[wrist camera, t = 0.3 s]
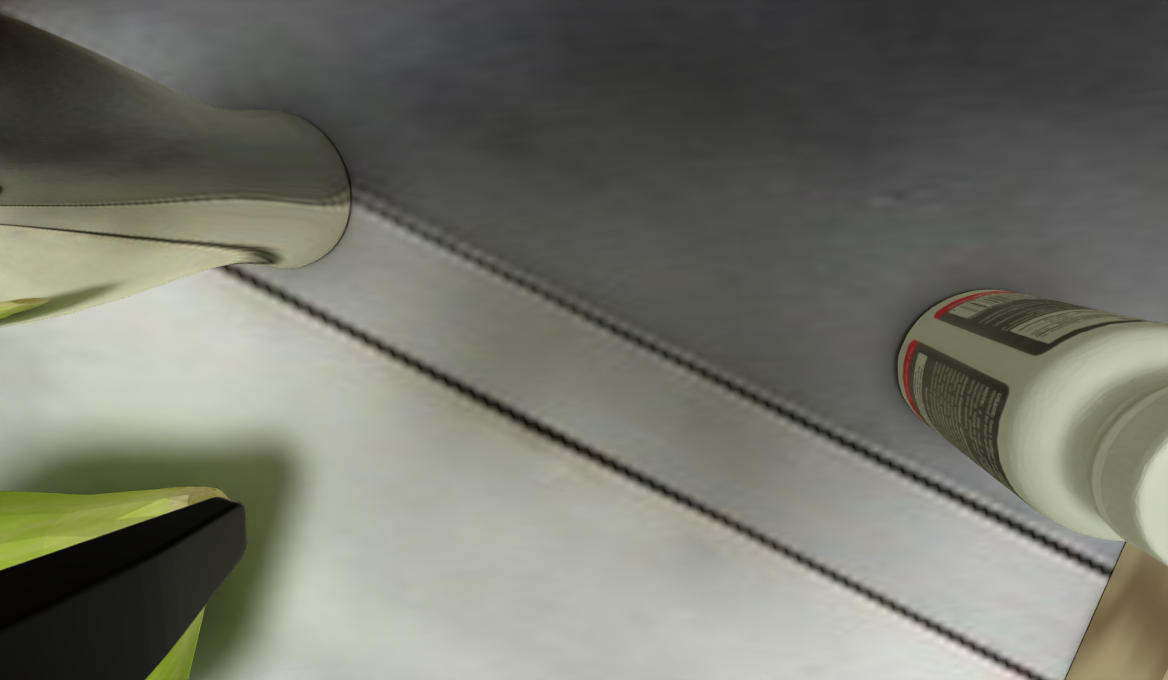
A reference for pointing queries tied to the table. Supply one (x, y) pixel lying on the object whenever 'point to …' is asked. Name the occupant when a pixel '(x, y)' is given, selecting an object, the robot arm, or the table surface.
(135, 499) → the lettuce
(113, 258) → the beer glass
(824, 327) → the table surface
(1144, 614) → the pedestal
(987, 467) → the pill bottle
